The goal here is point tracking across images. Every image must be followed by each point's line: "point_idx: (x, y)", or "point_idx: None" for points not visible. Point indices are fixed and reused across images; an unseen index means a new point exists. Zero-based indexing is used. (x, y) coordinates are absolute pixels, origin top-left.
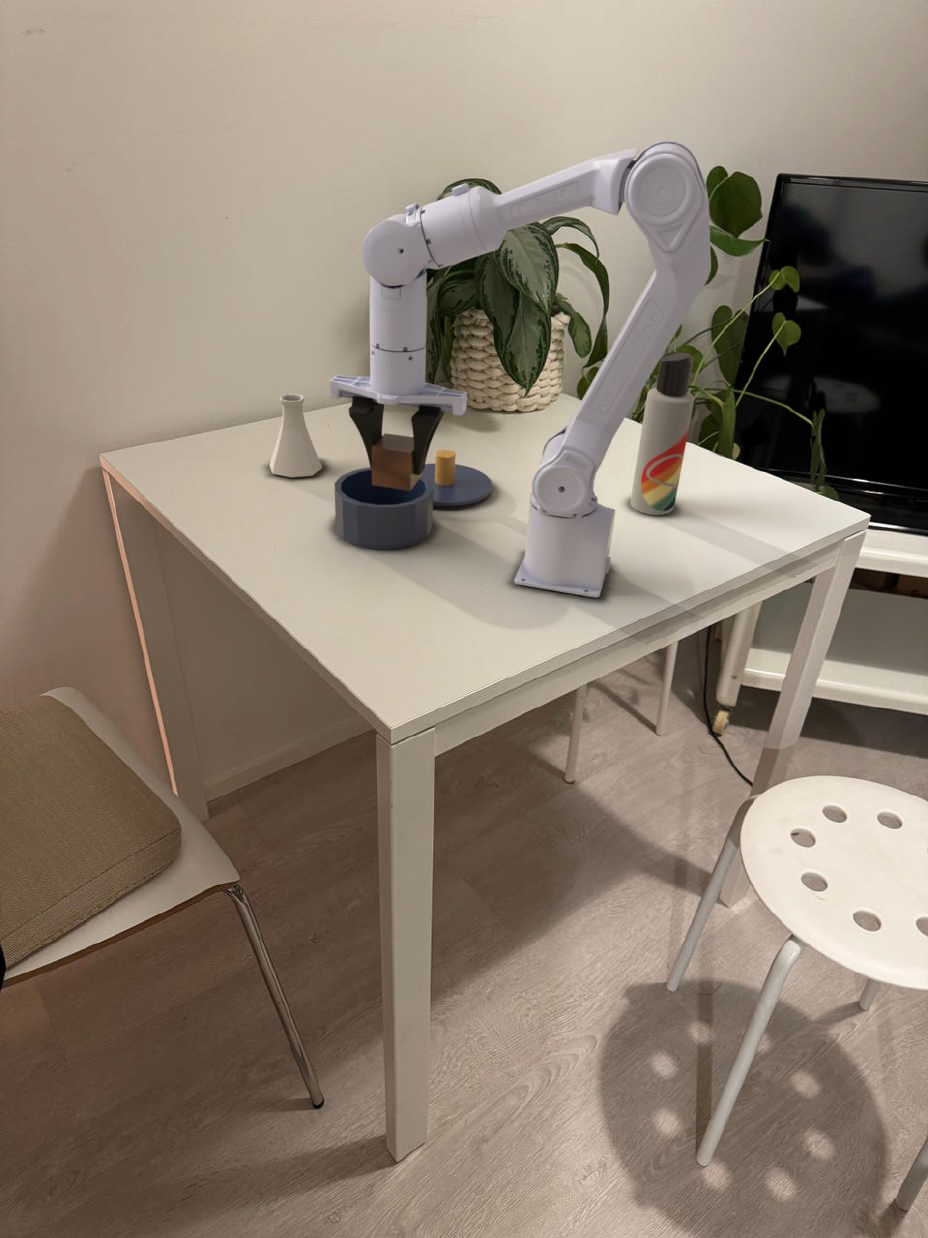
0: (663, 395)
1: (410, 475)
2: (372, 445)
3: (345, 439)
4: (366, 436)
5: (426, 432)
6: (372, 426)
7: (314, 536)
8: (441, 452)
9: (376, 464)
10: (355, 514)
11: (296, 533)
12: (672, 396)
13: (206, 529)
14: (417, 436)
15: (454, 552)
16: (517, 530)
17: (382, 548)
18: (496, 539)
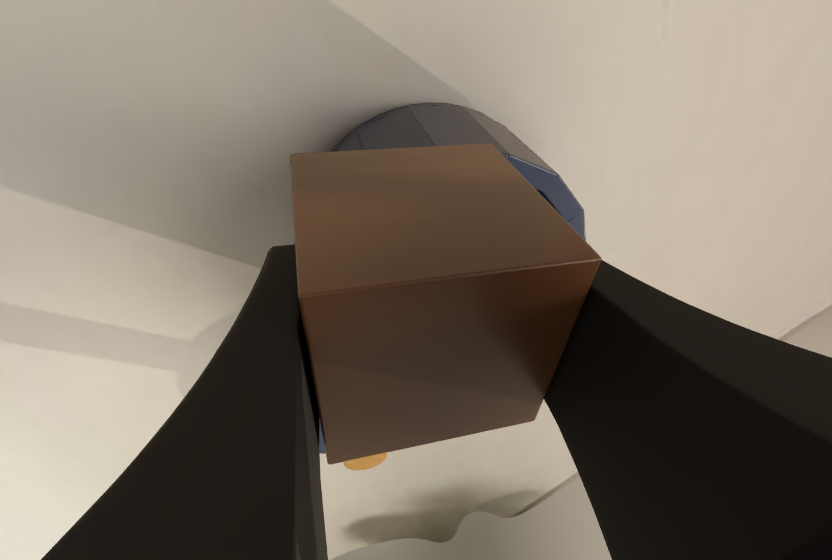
0: None
1: (293, 197)
2: (594, 287)
3: (550, 428)
4: (671, 318)
5: (88, 550)
6: (684, 401)
7: (571, 114)
8: (375, 457)
9: (516, 197)
10: (500, 141)
11: (613, 113)
12: None
13: (812, 52)
14: (244, 452)
15: (193, 171)
16: (111, 329)
17: (391, 111)
18: (130, 275)
